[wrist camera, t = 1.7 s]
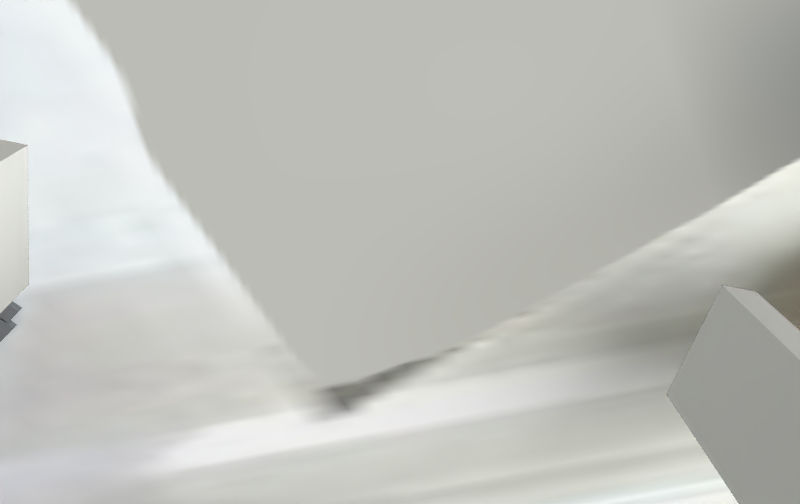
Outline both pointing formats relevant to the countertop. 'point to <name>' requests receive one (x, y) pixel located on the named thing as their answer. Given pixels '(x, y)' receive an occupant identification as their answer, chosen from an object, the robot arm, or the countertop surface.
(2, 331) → the frame
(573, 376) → the countertop surface
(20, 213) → the robot arm
